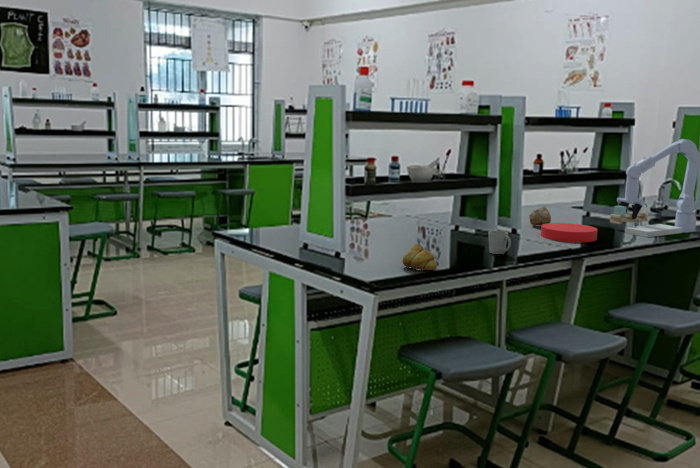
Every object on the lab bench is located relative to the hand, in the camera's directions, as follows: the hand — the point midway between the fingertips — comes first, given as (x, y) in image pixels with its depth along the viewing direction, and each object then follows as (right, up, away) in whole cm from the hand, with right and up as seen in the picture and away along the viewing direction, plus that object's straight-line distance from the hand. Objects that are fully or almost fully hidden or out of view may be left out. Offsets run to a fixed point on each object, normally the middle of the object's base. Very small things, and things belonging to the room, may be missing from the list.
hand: (629, 218), depth 325 cm
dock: (+7, -7, -11) cm, 15 cm away
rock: (-44, -4, +2) cm, 44 cm away
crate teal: (-6, +2, -4) cm, 8 cm away
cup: (-79, -16, -66) cm, 104 cm away
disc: (-38, -10, -26) cm, 48 cm away
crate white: (+6, +3, +3) cm, 8 cm away
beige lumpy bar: (0, -2, 0) cm, 2 cm away
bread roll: (-113, -20, -93) cm, 148 cm away
